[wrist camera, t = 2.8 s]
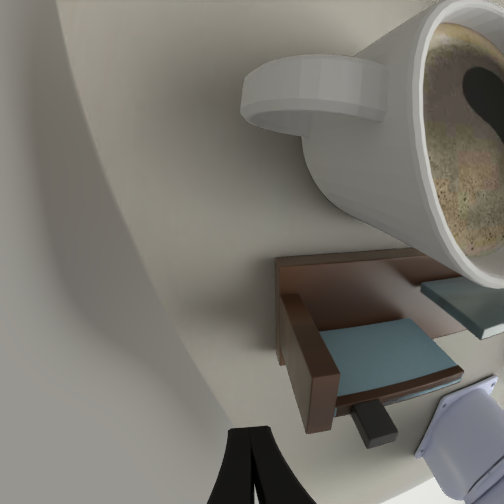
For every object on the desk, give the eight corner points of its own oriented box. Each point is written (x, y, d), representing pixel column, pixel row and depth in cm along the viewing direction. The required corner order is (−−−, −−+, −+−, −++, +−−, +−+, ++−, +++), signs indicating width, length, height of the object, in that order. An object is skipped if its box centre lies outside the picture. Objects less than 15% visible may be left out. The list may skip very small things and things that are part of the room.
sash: (407, 326, 17) (482, 407, 9) (302, 343, 16) (347, 455, 9) (409, 316, 16) (488, 395, 9) (303, 332, 16) (351, 444, 9)
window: (474, 315, 19) (539, 368, 12) (275, 351, 18) (303, 455, 11) (489, 241, 18) (570, 280, 10) (274, 257, 16) (314, 340, 9)
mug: (460, 151, 16) (591, 168, 6) (367, 260, 17) (482, 357, 7) (346, 12, 13) (445, -81, 3) (225, 118, 14) (224, 49, 5)
